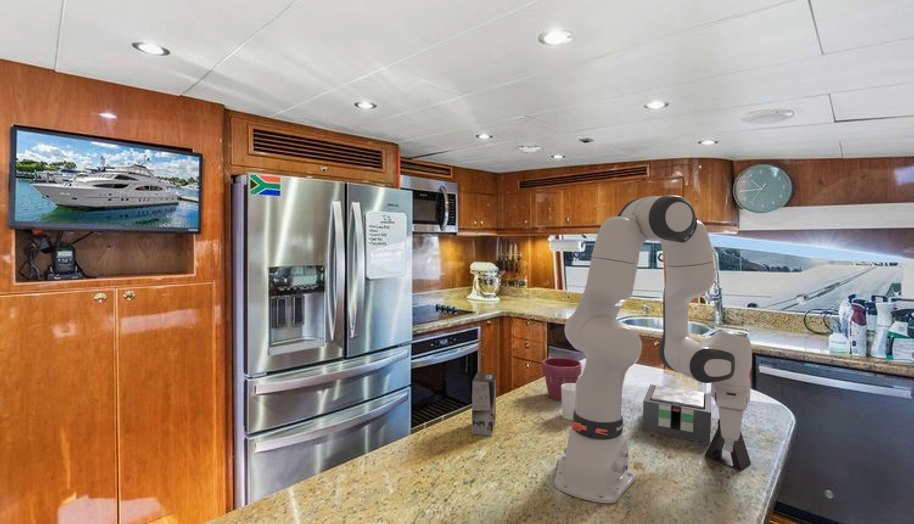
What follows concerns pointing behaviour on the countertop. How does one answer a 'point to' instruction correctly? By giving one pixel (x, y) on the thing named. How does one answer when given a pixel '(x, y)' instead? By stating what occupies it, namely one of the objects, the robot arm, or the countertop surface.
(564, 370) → the plant pot
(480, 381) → the coffee box
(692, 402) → the pan
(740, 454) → the phone stand
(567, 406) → the white cup
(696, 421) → the scale housing
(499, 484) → the countertop surface
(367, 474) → the countertop surface
